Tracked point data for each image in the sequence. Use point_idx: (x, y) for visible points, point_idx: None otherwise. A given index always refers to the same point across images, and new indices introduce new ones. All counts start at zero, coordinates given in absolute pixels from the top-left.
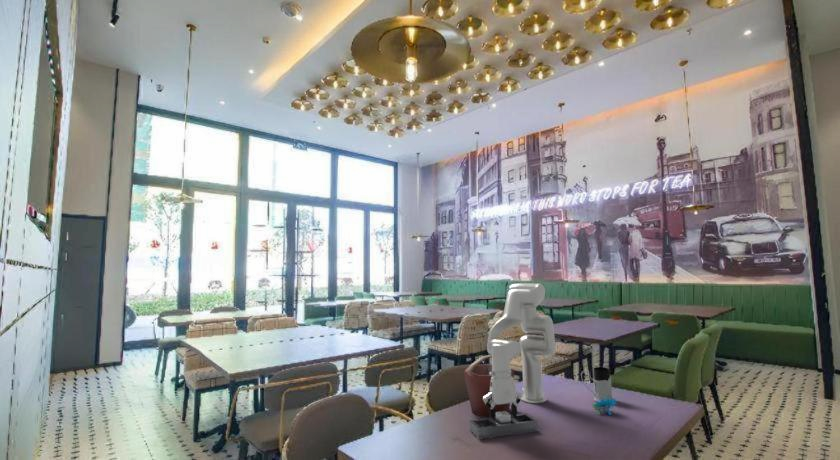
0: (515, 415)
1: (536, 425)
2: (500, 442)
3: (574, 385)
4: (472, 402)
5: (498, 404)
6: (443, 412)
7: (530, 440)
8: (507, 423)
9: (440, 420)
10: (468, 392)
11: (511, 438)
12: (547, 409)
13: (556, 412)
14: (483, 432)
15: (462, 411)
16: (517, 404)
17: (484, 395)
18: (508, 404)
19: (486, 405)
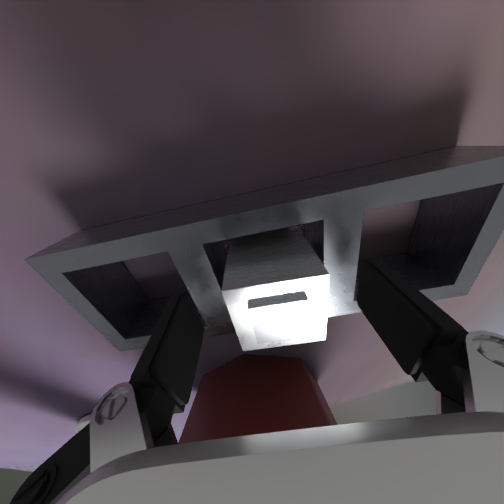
0: (177, 298)
1: (61, 243)
2: (348, 77)
3: (21, 461)
4: (333, 418)
5: (481, 416)
6: (403, 380)
7: (124, 90)
8: (253, 247)
9: None
10: None
11: (251, 145)
12: (69, 387)
13: (31, 373)
14: (462, 155)
15: (344, 383)
16: (100, 410)
17: None
18: (197, 408)
19: (298, 404)
